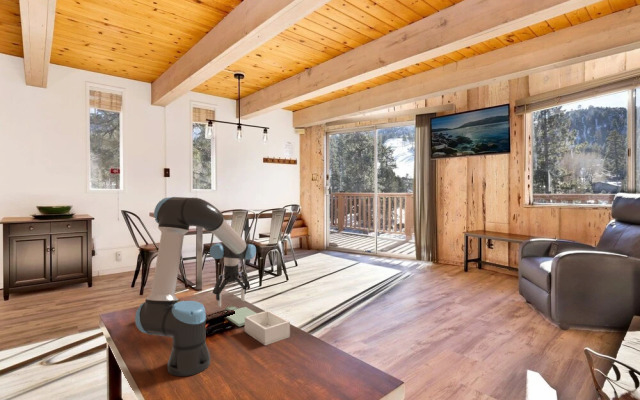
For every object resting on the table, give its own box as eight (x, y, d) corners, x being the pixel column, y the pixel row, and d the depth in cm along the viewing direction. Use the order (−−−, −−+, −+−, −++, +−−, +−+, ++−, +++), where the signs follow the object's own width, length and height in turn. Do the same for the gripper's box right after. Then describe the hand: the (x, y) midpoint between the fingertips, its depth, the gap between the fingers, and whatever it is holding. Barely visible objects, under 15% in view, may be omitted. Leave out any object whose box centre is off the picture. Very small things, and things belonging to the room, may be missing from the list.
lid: (263, 321, 169) (263, 316, 169) (238, 328, 160) (238, 323, 160) (240, 307, 188) (240, 303, 188) (217, 313, 179) (217, 308, 179)
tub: (289, 336, 152) (289, 321, 151) (265, 345, 143) (265, 329, 143) (268, 324, 165) (268, 310, 165) (244, 331, 157) (244, 316, 156)
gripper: (248, 260, 191) (248, 296, 192) (205, 266, 175) (206, 306, 176) (255, 262, 186) (255, 300, 186) (211, 269, 169) (212, 310, 170)
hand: (231, 303), depth 181 cm, fingers open, 13 cm apart
